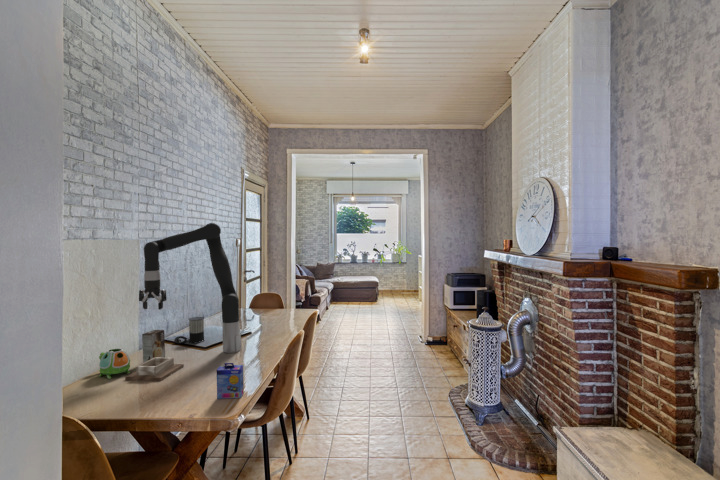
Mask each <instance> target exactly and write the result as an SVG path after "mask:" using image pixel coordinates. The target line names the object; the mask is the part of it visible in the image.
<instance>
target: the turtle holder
mask: <svg viewBox="0 0 720 480" xmlns="http://www.w3.org/2000/svg"><path fill="white" fill-rule="evenodd" d="M98 358H99V364H98V365H99V373H100V374H99V377H100V378H101V377H103V376H104V375H106V378H107V379H109V380H110V379H112V378H113V377H112V376H111V375H118V374H122V373H124V372H125V373H126V374H127V373H129V374H131V372H130V370H129V369H130V368H131V359H130V356H129V354H128V352H126V351H125V350H124V349H123V348H118V347H116V348H110V349H108V350H106V352H104V351H103V352H100V354H99V356H98Z"/></svg>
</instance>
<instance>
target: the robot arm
mask: <svg viewBox="0 0 720 480" xmlns="http://www.w3.org/2000/svg"><path fill="white" fill-rule="evenodd" d="M221 232H222V229H221V227H220V226H219V224H217V223H214V222H210V223H207V224H205V225H204V226H201V227H199V228H197V229H195V230H190V231H186V232H183V233H178V234H174V235H173V234H172V235H171V236H166V237H164V238H161V239H158V240H154V241H153V240H152V241H149V242H147V243H145V244H144V246H143V255H144V275H143V277H144V278H143V280H144V281H143V282H144V285H143V286H144V289H140V290H139V291H138V301H139V302H142V308H143V310H147V309H148V301H149V299H155V300H157V302H158V305H157V307H158V310H162V309H163V307H164V302H166V301H167V300H168V299H167V290H166V289H163V290H162V289H161V271H160V269H161V268H160V267H161V266H160V260H159V259H160V253H162V252H165V251H171V250H173V249H177V248H178V249H179V248H181V247H185V246H186V245H189V244H192V243H193V244H194V243H195V242H199V241H203V240H206V244H207V246H208V251H209V257H210V262H211V266H212V267H211V268H212V270H213V271H212V272H213V273H214V276H215V279H216V281H217V283H218V285H219V288H220V292H221V299H222V300H221V321H222V322H221V325H222V352H223V353H225V354H232V353H238V352H239V351H240V350H242V333H241V332H240V307H239V305H240V302H239V300H240V299H239V296H238V294H237V292H236V289H235V286H234V283H233V276H232V270H231V265H230V263H229V259H228V256H227V253H226V252H225V250H224V247H223V244H222V239H221Z"/></svg>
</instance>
